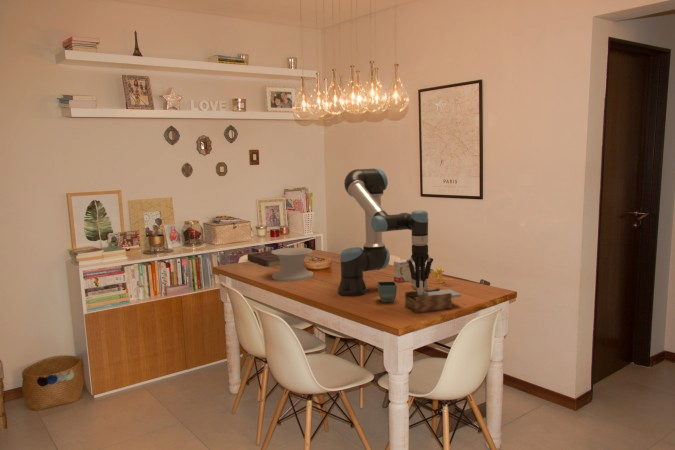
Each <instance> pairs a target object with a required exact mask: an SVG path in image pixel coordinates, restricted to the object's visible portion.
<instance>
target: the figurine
mask: <svg viewBox="0 0 675 450" xmlns="http://www.w3.org/2000/svg"><path fill="white" fill-rule="evenodd" d="M435 269H436V270H433V269H430V274H431V276H432V277H433V278H435V279H436V281H435V284H443V283H444V281H446V280H448V281H449V280H450V281H451V280H453V281H454V279H452V278H443V273H444V272H445V270H444V268H443V267H442V266H441V267H438V266H435Z"/></svg>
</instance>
